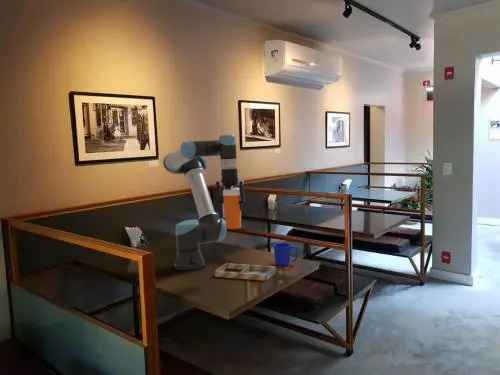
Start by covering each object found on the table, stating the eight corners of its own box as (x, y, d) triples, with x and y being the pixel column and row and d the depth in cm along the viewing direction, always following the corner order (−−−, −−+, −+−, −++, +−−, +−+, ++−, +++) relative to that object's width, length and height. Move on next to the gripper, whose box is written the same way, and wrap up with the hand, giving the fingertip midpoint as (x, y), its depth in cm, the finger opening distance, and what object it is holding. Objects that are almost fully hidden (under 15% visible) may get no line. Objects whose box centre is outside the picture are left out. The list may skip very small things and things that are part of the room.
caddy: (214, 276, 194) (213, 271, 194) (226, 268, 207) (226, 263, 206) (266, 280, 184) (266, 275, 184) (276, 271, 197) (275, 266, 196)
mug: (297, 267, 202) (296, 247, 201) (273, 267, 204) (272, 247, 203) (299, 262, 210) (298, 243, 209) (275, 262, 212) (274, 243, 211)
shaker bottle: (246, 226, 197) (244, 184, 194) (237, 230, 189) (236, 186, 186) (229, 225, 201) (228, 184, 198) (220, 228, 193) (218, 186, 190)
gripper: (206, 169, 193) (210, 218, 195) (245, 168, 185) (248, 219, 187) (214, 168, 199) (217, 215, 202) (251, 167, 192) (254, 216, 194)
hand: (232, 217), depth 194 cm, fingers open, 6 cm apart
